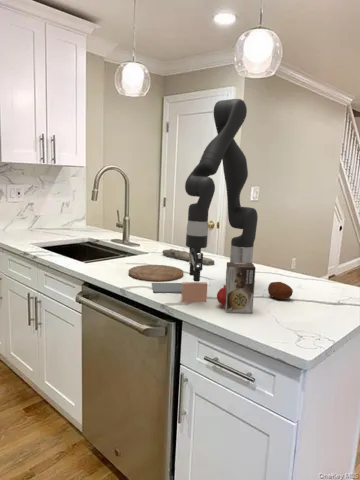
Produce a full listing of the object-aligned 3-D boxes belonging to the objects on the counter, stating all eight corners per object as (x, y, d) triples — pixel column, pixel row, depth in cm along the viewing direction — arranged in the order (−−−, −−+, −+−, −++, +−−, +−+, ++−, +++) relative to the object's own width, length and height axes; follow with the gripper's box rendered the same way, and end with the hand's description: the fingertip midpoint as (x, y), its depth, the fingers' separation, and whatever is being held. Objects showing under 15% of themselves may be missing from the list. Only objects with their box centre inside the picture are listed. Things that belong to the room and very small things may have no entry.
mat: (194, 284, 161) (194, 282, 161) (199, 292, 150) (199, 291, 150) (151, 284, 159) (151, 282, 159) (153, 293, 147) (153, 291, 147)
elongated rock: (206, 269, 194) (218, 267, 202) (208, 259, 193) (219, 258, 201) (157, 254, 216) (169, 253, 224) (158, 245, 215) (170, 244, 223)
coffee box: (249, 306, 136) (252, 262, 133) (252, 313, 129) (256, 267, 126) (223, 305, 136) (226, 261, 133) (225, 312, 129) (228, 265, 126)
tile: (205, 300, 141) (206, 282, 140) (206, 302, 139) (207, 283, 138) (181, 300, 140) (182, 282, 139) (181, 302, 138) (182, 283, 137)
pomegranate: (222, 302, 139) (224, 281, 138) (236, 306, 135) (237, 285, 134) (213, 306, 135) (214, 284, 133) (226, 310, 131) (228, 288, 130)
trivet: (177, 284, 161) (177, 280, 160) (120, 279, 165) (120, 275, 165) (187, 271, 185) (188, 267, 185) (138, 266, 190) (138, 263, 189)
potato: (275, 293, 153) (277, 278, 152) (295, 300, 146) (297, 284, 145) (264, 296, 149) (265, 280, 147) (284, 303, 141) (285, 286, 140)
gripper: (211, 237, 129) (208, 283, 131) (203, 231, 143) (200, 273, 145) (189, 236, 128) (187, 283, 130) (183, 230, 142) (181, 273, 144)
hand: (194, 278), depth 138 cm, fingers open, 8 cm apart
